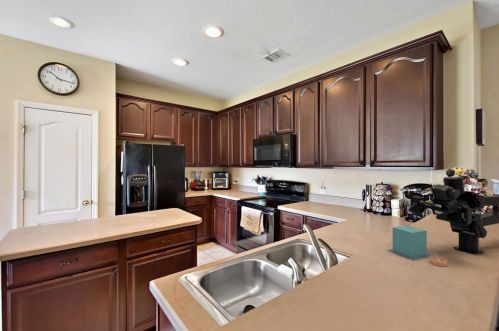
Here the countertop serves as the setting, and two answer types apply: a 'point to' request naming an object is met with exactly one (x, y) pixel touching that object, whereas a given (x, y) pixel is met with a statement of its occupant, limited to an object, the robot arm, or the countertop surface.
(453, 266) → the countertop surface
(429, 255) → the mat
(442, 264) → the bowl
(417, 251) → the teal rectangular block
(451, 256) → the countertop surface
